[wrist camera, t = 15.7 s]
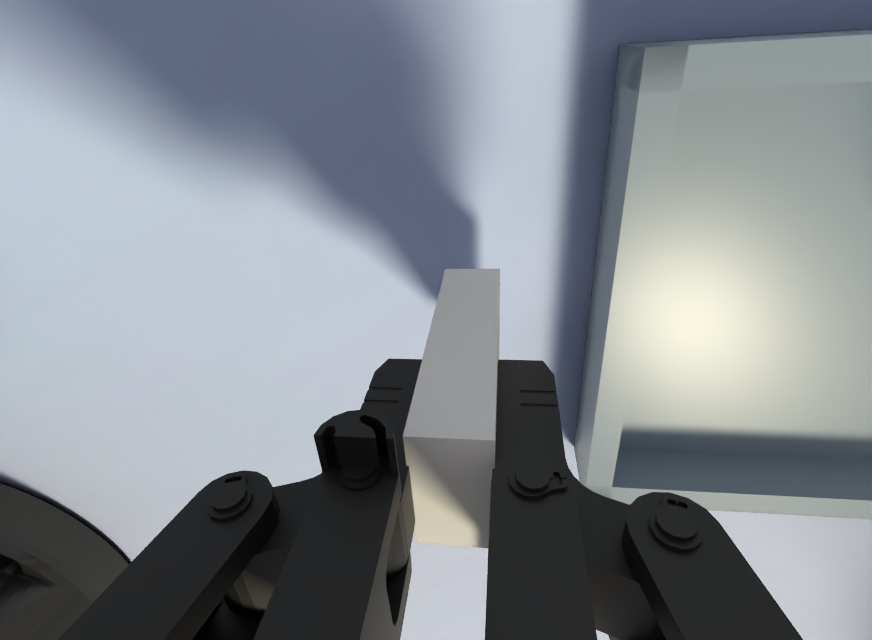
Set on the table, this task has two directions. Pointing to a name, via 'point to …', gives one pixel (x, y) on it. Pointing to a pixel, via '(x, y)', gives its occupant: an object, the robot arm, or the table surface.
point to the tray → (735, 278)
